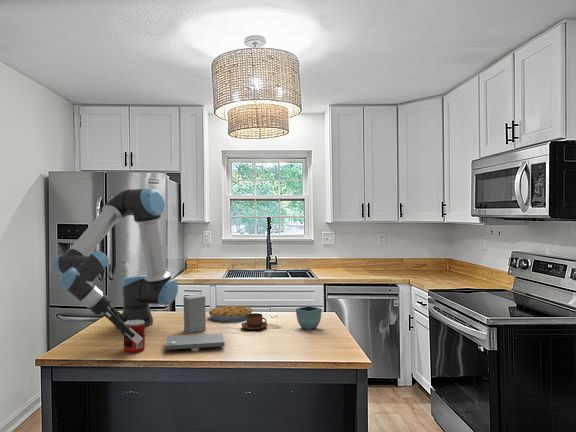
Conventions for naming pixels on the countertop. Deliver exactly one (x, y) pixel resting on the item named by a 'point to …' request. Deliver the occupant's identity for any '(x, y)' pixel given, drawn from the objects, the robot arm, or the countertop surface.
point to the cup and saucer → (254, 322)
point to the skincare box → (194, 313)
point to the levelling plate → (194, 341)
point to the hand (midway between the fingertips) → (138, 337)
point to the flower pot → (308, 317)
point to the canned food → (140, 330)
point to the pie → (229, 313)
